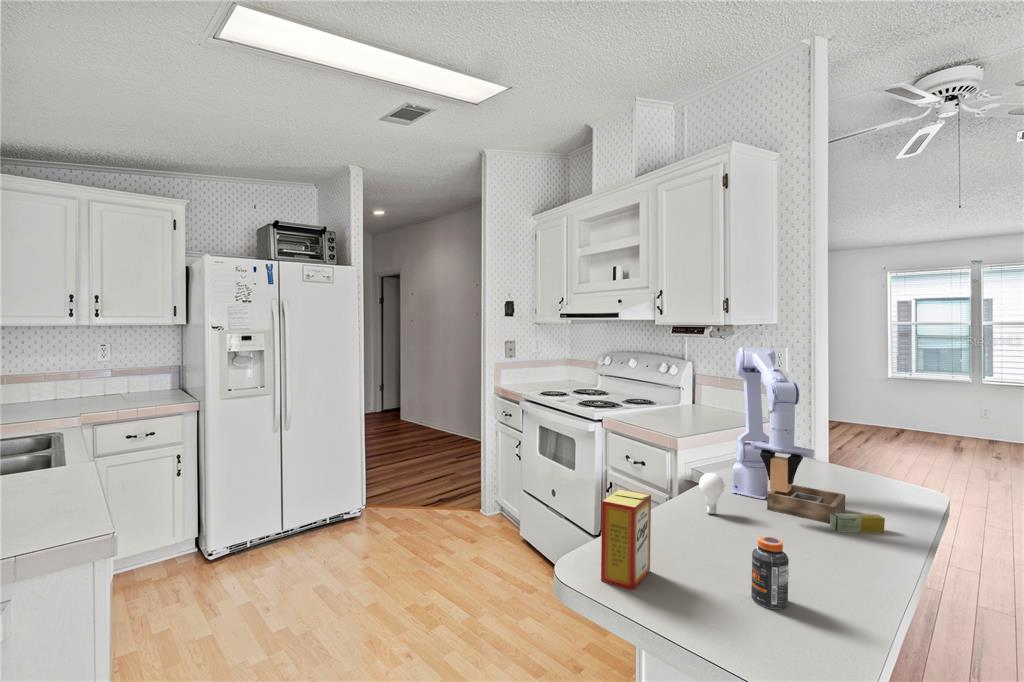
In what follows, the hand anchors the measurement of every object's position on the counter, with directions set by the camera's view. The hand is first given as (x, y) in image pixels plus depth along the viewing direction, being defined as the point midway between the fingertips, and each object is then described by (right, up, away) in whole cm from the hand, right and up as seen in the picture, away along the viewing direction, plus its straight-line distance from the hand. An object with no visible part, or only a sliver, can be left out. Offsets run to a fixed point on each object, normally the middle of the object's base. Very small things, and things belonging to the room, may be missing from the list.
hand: (780, 481), depth 133 cm
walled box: (+12, -10, +9) cm, 18 cm away
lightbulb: (-16, -10, +5) cm, 20 cm away
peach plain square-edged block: (0, -2, 0) cm, 2 cm away
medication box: (+16, -11, -5) cm, 20 cm away
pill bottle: (-23, -11, -40) cm, 47 cm away
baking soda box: (-47, -11, -30) cm, 57 cm away
